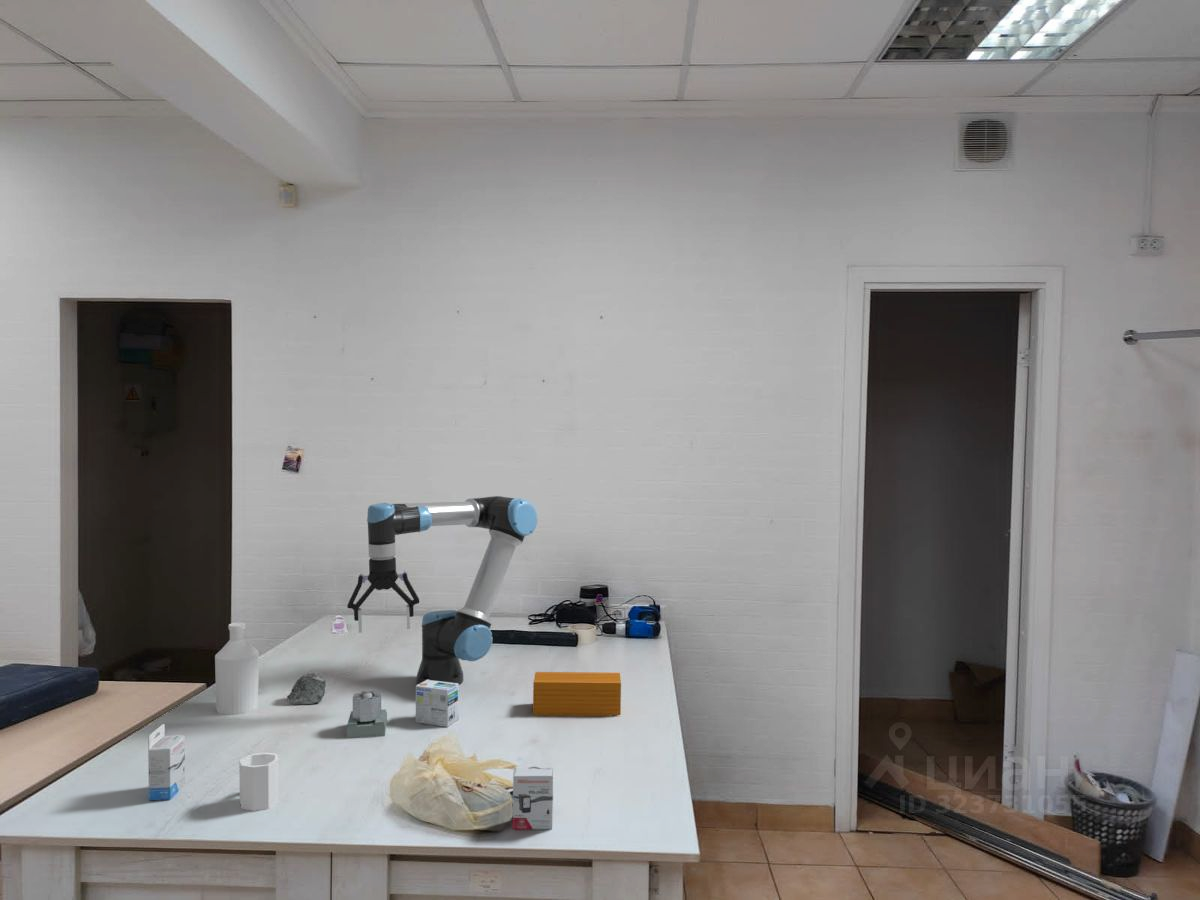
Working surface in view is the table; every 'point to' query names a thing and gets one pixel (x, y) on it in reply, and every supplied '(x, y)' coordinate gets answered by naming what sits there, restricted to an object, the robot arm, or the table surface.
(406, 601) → the robot arm
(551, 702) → the brick
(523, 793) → the ink box
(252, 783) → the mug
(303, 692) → the stone
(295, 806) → the table surface
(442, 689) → the light bulb box
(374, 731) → the pillow block
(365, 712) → the hub
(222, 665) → the bottle
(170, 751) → the ink box
